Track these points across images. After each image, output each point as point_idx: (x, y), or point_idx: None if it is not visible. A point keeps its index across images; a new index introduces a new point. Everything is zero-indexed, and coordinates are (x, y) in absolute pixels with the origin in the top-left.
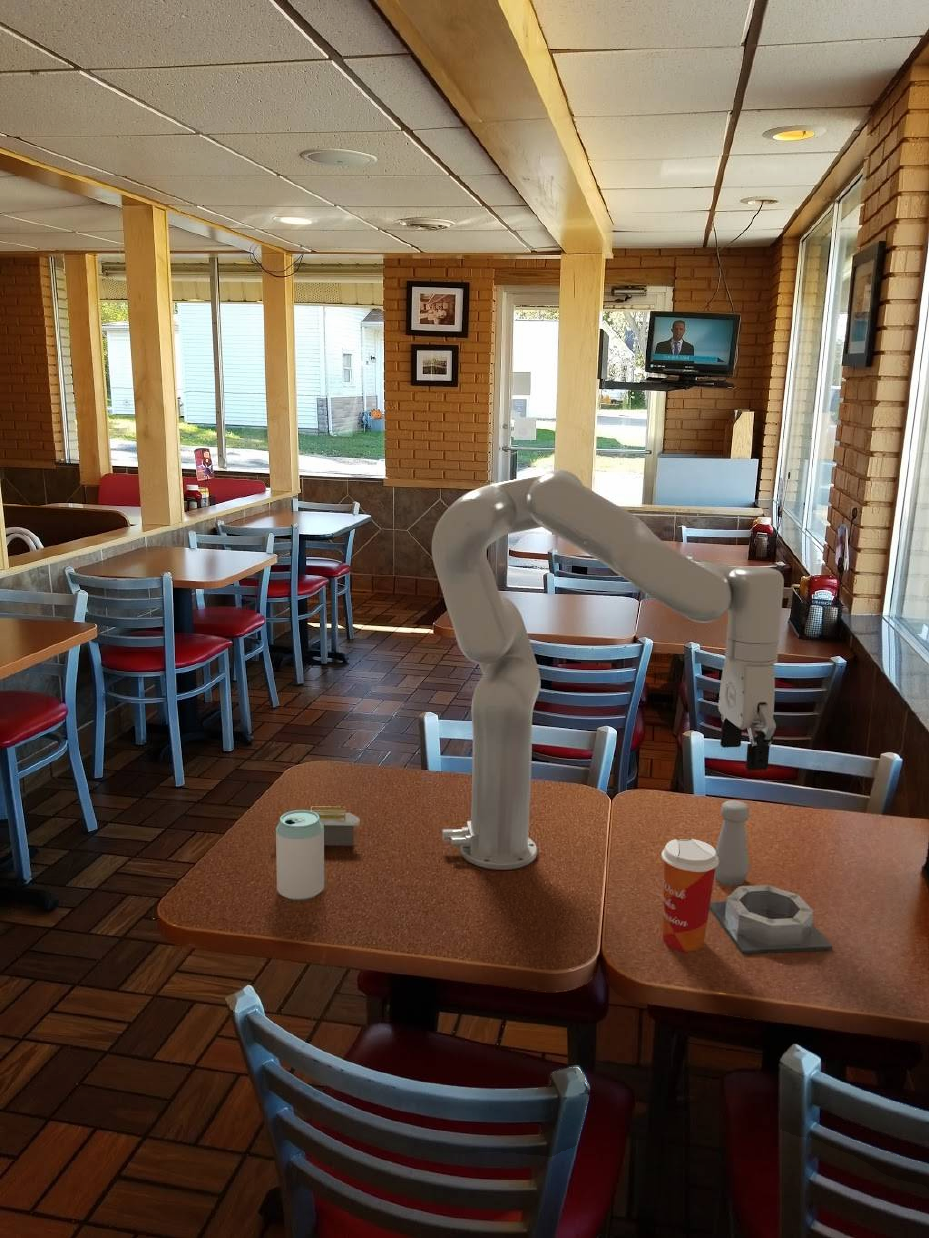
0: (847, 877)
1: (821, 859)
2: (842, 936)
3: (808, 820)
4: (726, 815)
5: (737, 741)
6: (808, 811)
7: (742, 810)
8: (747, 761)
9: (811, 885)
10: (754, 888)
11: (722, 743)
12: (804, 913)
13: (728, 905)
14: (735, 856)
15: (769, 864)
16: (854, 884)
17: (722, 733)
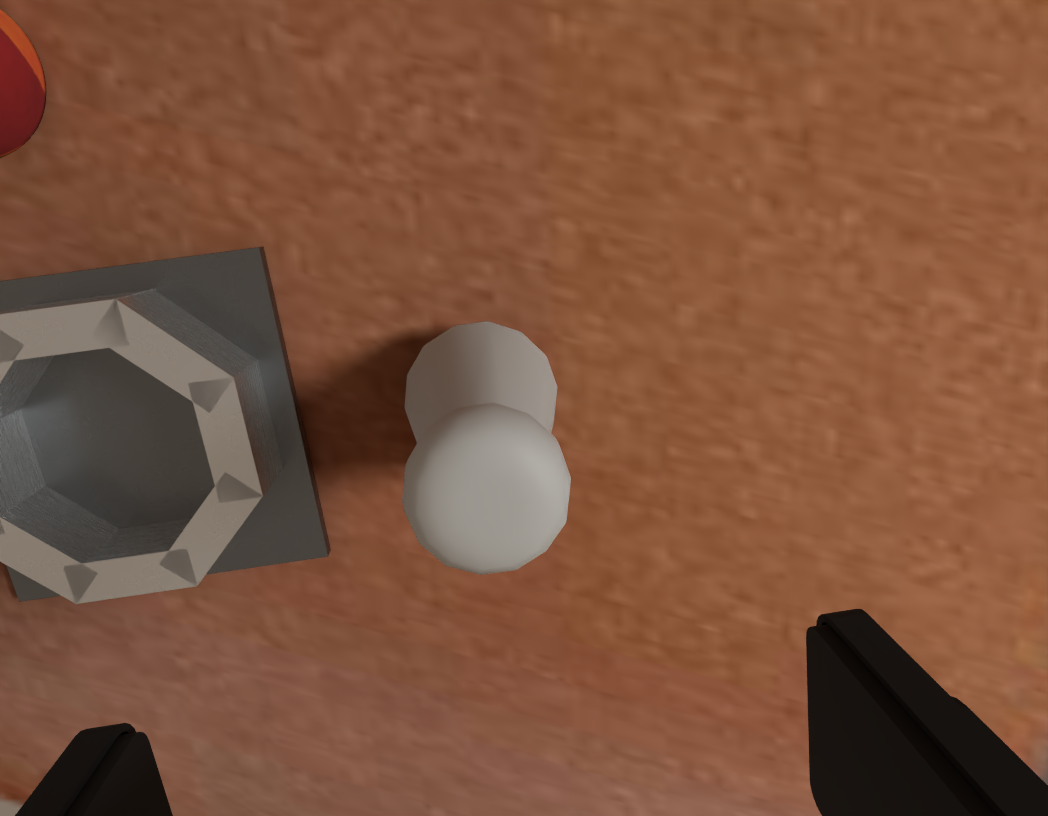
0: (522, 769)
1: (646, 729)
2: (125, 648)
3: None
4: (437, 424)
5: (840, 811)
6: None
7: (418, 525)
8: (36, 798)
9: (459, 650)
10: (223, 435)
11: (838, 639)
12: (47, 568)
13: (101, 299)
14: (413, 417)
15: (608, 557)
16: (475, 775)
17: (921, 718)
